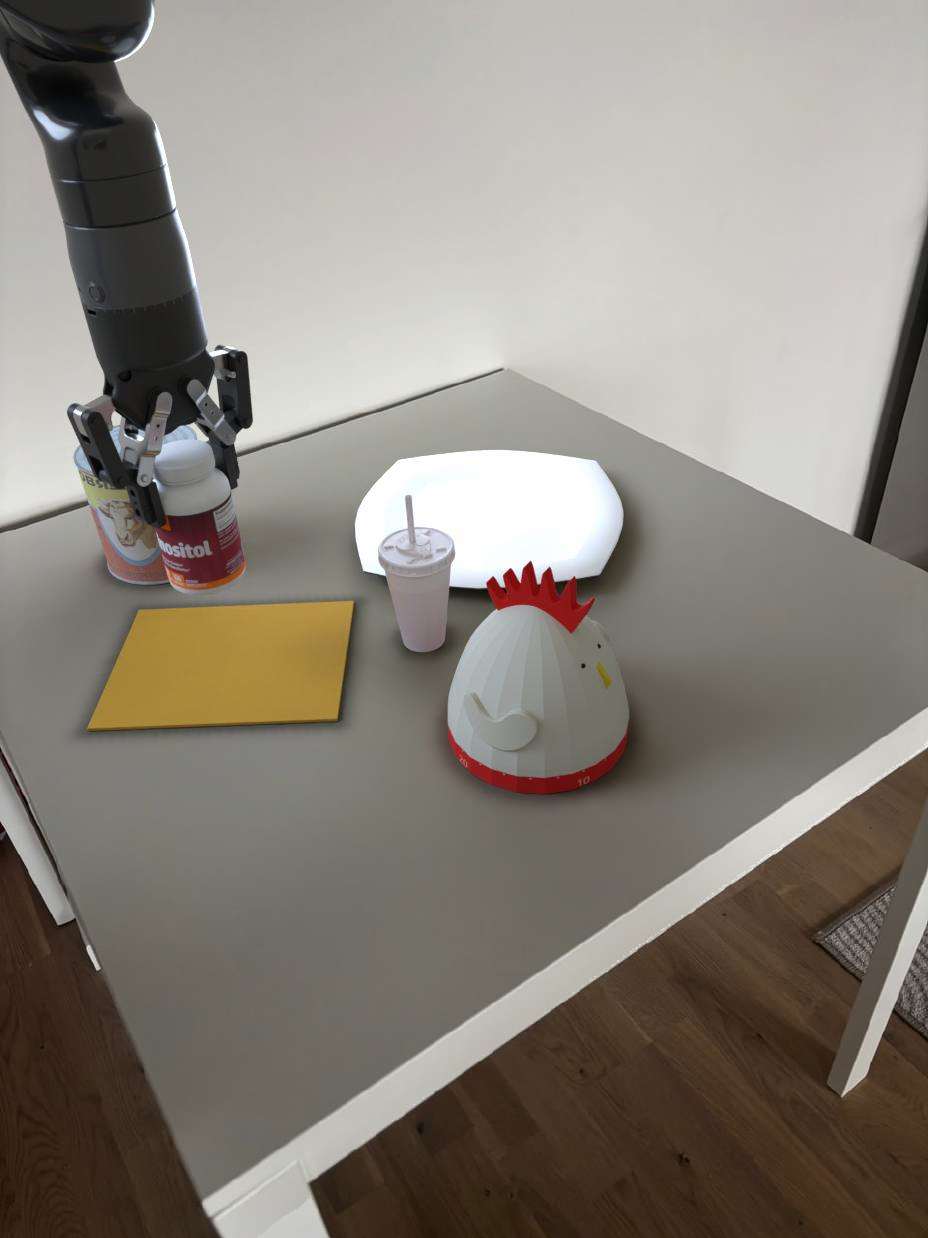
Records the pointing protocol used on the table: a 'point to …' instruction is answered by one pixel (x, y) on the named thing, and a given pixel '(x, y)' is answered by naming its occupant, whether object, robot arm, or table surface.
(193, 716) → the cloth
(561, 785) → the kitchen timer
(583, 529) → the plate
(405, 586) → the smoothie
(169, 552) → the pill bottle
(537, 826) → the table surface
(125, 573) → the canned food
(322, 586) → the table surface
